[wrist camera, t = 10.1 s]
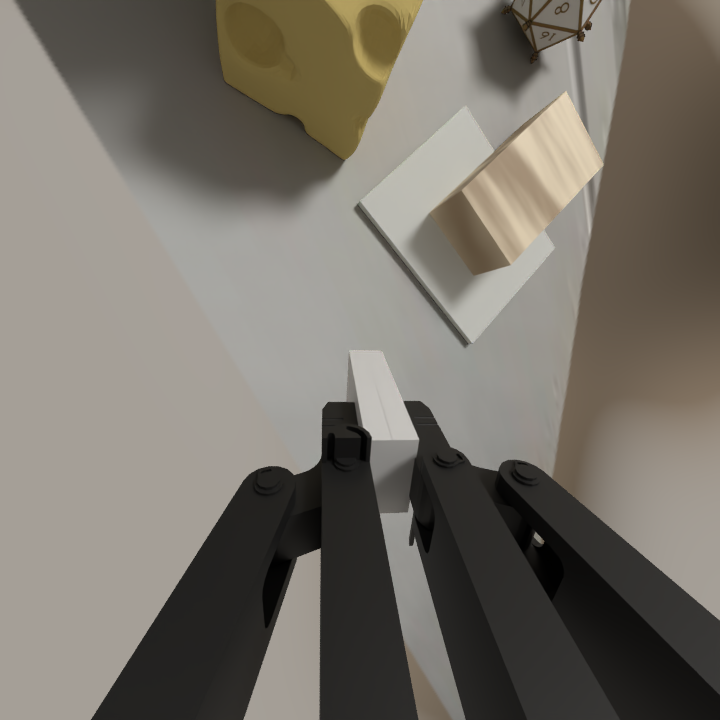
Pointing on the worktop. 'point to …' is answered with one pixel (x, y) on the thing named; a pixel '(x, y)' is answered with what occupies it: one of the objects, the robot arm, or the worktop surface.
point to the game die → (552, 20)
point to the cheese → (314, 59)
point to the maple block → (519, 188)
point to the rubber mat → (427, 241)
